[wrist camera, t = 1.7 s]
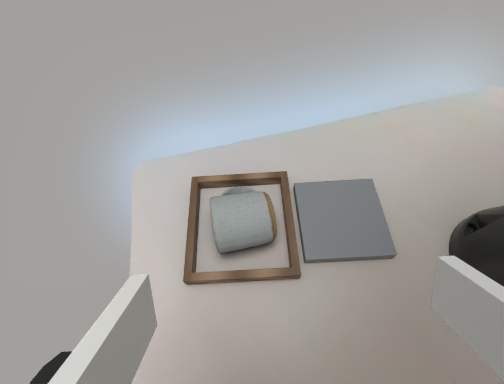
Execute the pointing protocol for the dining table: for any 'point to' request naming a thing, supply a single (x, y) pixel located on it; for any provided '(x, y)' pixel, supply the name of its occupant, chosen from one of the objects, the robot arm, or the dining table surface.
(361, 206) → the grey board
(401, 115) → the dining table surface
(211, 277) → the walnut frame
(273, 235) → the ceramic mug
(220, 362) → the dining table surface
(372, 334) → the dining table surface
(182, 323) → the dining table surface
